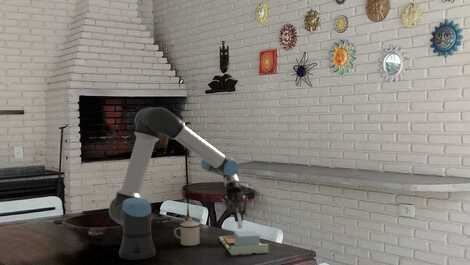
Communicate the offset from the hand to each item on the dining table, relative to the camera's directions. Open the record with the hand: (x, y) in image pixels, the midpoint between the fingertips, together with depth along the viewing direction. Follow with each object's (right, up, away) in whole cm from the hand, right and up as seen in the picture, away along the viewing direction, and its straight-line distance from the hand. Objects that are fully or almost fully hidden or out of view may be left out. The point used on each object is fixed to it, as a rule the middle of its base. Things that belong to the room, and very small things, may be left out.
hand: (240, 226), depth 231 cm
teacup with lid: (-25, -8, +2) cm, 26 cm away
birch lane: (+1, -8, -3) cm, 9 cm away
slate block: (+3, -8, -11) cm, 14 cm away
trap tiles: (-1, -8, +6) cm, 10 cm away
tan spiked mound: (-28, -8, +39) cm, 49 cm away
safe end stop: (+4, -8, -16) cm, 19 cm away
